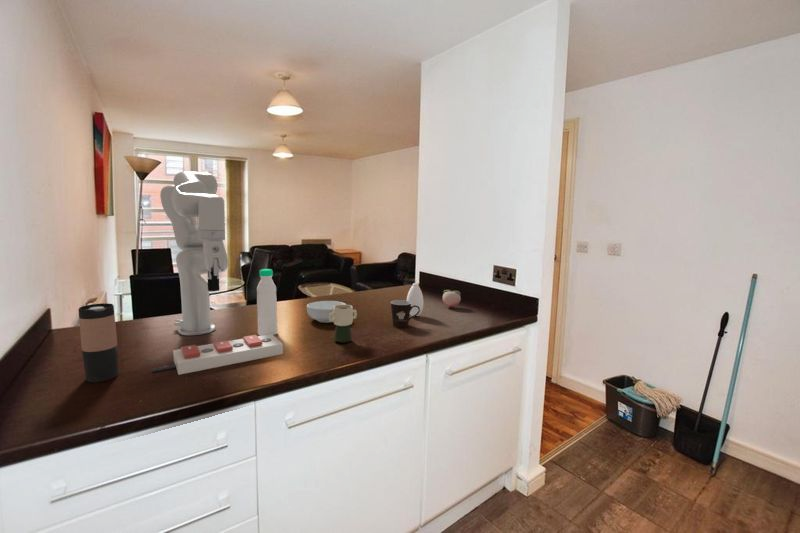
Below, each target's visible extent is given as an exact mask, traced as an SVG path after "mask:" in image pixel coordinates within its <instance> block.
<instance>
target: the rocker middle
mask: <svg viewBox="0 0 800 533" xmlns="http://www.w3.org/2000/svg"><path fill="white" fill-rule="evenodd" d="M228 341H229V340H222V341H221V340H220V341H215V342H213V344H214V347H215V348H216V349H217V351H218V352H223V351H228V350H233V346H232V345H231V344H230V343H229V342H228Z"/></svg>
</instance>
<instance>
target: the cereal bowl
mask: <svg viewBox="0 0 800 533" xmlns="http://www.w3.org/2000/svg"><path fill="white" fill-rule="evenodd" d="M335 305H347V303H345V302H342V301H337V300H321V301H320V300H319V301H314V302H313V301H312V302H309V303H307V305H306V312H307V315H308V316H309V317H310V318H311V319H312V320H316V321H317V322H319V323H323V324H324V323H327V324H328V323H330V322H329V313H333V307H334V306H335ZM331 319H333V315H332V316H331Z"/></svg>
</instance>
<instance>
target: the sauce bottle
mask: <svg viewBox="0 0 800 533" xmlns="http://www.w3.org/2000/svg"><path fill="white" fill-rule="evenodd" d="M406 301H409V302H411V307H412V306H414V305H416V306H418V307H419V308H420V312H419V313H418V311H419V309H418V308H417V307H413V308H412V309H411V311H410V317H412V316H414V315H415V314H417V313H418V314H417V315H416V316H417V317H418V316H419V315H420V314H421V313H422V312H423V308H424V296H423V292H422V289H421V287H420V286H419V283H417V278H415V279H414V283H412V285H411V287H410V288H409V290H408V292H407V296H406Z"/></svg>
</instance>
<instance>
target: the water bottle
mask: <svg viewBox="0 0 800 533" xmlns="http://www.w3.org/2000/svg"><path fill="white" fill-rule="evenodd" d="M273 271H274V270H273V269H272V268H263V269H260V270H259V272H258V273H259V277H260V280H259V282H258V285H257V287H256V292H257V293H256V309H257V310H256V311H257V336H262V335H268V334H272V335H273V336H275V335H277V333H278V325H277V324H278V316H277V312H278V310H277V309H278V307H277V306H278V305H277V304H278V303H277V300H278V299H277V286H276V284H275V283H274V280H273V278H272V277H273V275H274V272H273Z"/></svg>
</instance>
